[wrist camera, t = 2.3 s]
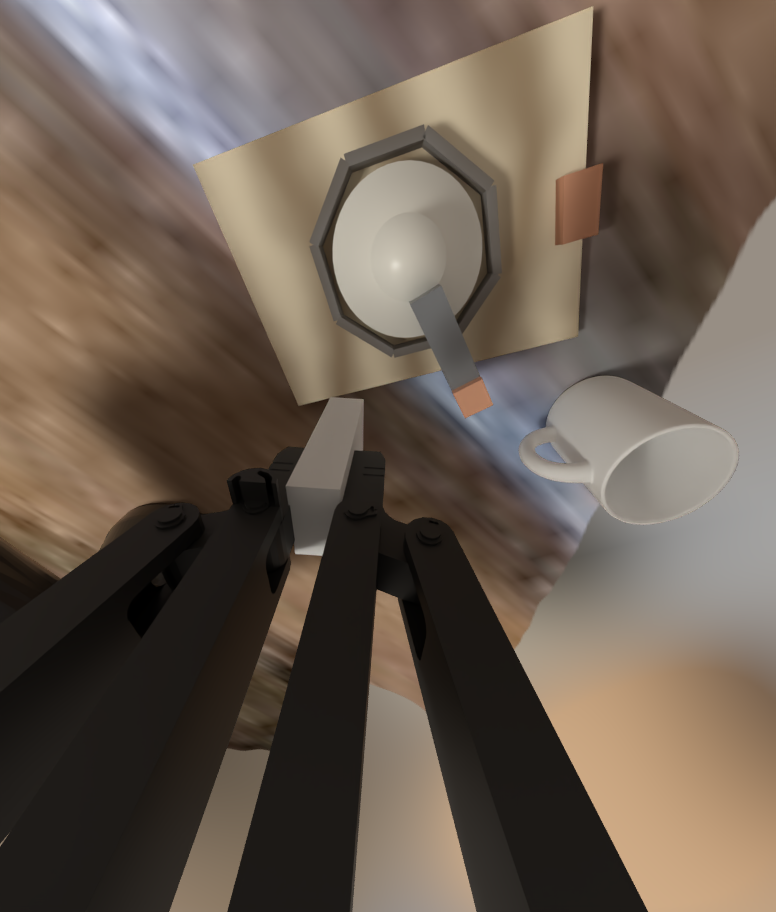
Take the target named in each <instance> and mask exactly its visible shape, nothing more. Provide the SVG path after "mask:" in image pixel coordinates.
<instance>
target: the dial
mask: <svg viewBox="0 0 776 912" xmlns="http://www.w3.org/2000/svg"><path fill="white" fill-rule="evenodd" d="M481 260H482V234H481V227H480V222H479V219H478V215H477V212H476V210H475V207H474V205H473V202H472V201H471V199H470V197H469V195H468V194H467V192H466V191H465V190H464V188H463V187H462V186H461V184H460V183H459V182H458V181H457V180H456V179H455V178H454V177H453V176H451V175H450V174H449V173H447V172H446V171H444V170H443V169H441V168H439V167H437V166H435V165H433V164H430V163H426V162H422V161H414V160H406V161H397V162H394V163H390V164H387V165H385V166H382V167H380V168H378V169H376V170H375V171H373V172H372V173H370V174H369V175H367V176H366V177H365V178H364V179H363V180H362V181H361V182H360V183H359V184H358V185H357V186H356V187H355V188H354V190H353V191H352V192H351V194H350V195H349V197H348V198H347V200H346V201H345V203H344V205H343V208H342V210H341V212H340V214H339V217H338V220H337V223H336V227H335V232H334V238H333V265H334V272H335V276H336V280H337V283H338V286H339V289H340V291H341V293H342V295H343V297H344V299H345V301H346V303H347V304H348V306H349V307H350V309H351V310H352V311H353V312H354V314H355V315H356V316H357V317H358V318H359V319H360V320H361V321H362V322H364V323H365V324H366V325H368V326H369V327H371V328H372V329H374V330H376V331H378V332H380V333H383V334H385V335H389V336H393V337H402V338H408V337H417V336H422V335H425V337H426V339H427V341H428V343H429V345H430V347H431V349H432V351H433V353H434V355H435V357H436V359H437V361H438V363H439V365H440V367H441V370H442V372H443V374H444V376H445V378H446V380H447V382H448V384H449V386H450V388H451V390H452V392H453V395H454V397H455V399H456V401H457V403H458V405H459V407H460V409H461V411H462V413H463V415H464V417H465V418H467V417H469V416H471V415H473V414H475V413H477V412H479V411H482V410H484V409H486V408H488V407H490V406H492V405H493V403H492V401H491V398H490V396H489V394H488V391H487V389H486V387H485V384H484V382H483V380H482V378H481V377H480V375H479V372H478V370H477V368H476V365H475V363H474V361H473V358H472V356H471V354H470V351H469V349H468V347H467V344H466V342H465V340H464V337H463V335H462V333H461V330H460V328H459V326H458V323H457V321H456V319H455V315H456V314H457V313H458V312H459V311H460V310H461V308H462V307H463V305H464V304H465V303H466V301H467V300H468V298H469V296H470V294H471V293H472V290H473V288H474V286H475V283H476V281H477V277H478V274H479V270H480V265H481Z"/></svg>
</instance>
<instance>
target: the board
mask: <svg viewBox="0 0 776 912" xmlns="http://www.w3.org/2000/svg"><path fill="white" fill-rule="evenodd" d="M592 24H593V6H592V7H590V8H587V9H585V10H582V11H580V12H577V13H575V14H572V15H570V16H567V17H565V18H562V19H560V20H557V21H555V22H552V23H550V24H547V25H544V26H542V27H539V28H537V29H534V30H532V31H529V32H527V33H524V34H522V35H519V36H517V37H514V38H512V39H509V40H507V41H504V42H502V43H499V44H497V45H494V46H492V47H489V48H486V49H484V50H481V51H479V52H476V53H474V54H471V55H469V56H466V57H464V58H461V59H459V60H456V61H454V62H451V63H449V64H446V65H444V66H441V67H439V68H436V69H434V70H431V71H428V72H426V73H423V74H421V75H418V76H416V77H413V78H411V79H408V80H406V81H403V82H401V83H398V84H396V85H393V86H391V87H388V88H386V89H383V90H381V91H378V92H376V93H373V94H370V95H368V96H365V97H363V98H360V99H358V100H355V101H353V102H350V103H348V104H345V105H343V106H340V107H338V108H335V109H333V110H330V111H328V112H325V113H323V114H320V115H318V116H315V117H312V118H310V119H307V120H305V121H302V122H300V123H297V124H295V125H292V126H290V127H287V128H285V129H282V130H280V131H277V132H275V133H272V134H270V135H267V136H265V137H262V138H260V139H257V140H254V141H252V142H249V143H247V144H244V145H242V146H239V147H237V148H234V149H232V150H229V151H227V152H224V153H222V154H219V155H217V156H214V157H212V158H209V159H207V160H204V161H202V162H199V163H196V164H194V165H193V166H194V169H195V171H196V173H197V175H198V178H199V180H200V182H201V185H202V187H203V189H204V191H205V194H206V196H207V198H208V200H209V203H210V205H211V207H212V210H213V212H214V214H215V216H216V219H217V221H218V223H219V226H220V228H221V230H222V232H223V235H224V237H225V239H226V242H227V244H228V246H229V248H230V251H231V253H232V255H233V257H234V260H235V262H236V264H237V267H238V269H239V271H240V273H241V276H242V278H243V280H244V283H245V285H246V287H247V289H248V292H249V294H250V296H251V299H252V301H253V303H254V305H255V308H256V310H257V312H258V314H259V317H260V319H261V321H262V324H263V326H264V328H265V330H266V333H267V335H268V337H269V340H270V342H271V344H272V346H273V349H274V351H275V353H276V356H277V358H278V360H279V362H280V365H281V367H282V369H283V371H284V374H285V376H286V378H287V381H288V383H289V385H290V387H291V390H292V392H293V394H294V397H295V399H296V401H297V403H298V406H300V405H304V404H308V403H312V402H316V401H320V400H324V399H328V398H330V397H336V396H340V395H344V394H348V393H352V392H357V391H361V390H365V389H369V388H373V387H377V386H381V385H385V384H389V383H393V382H397V381H401V380H405V379H409V378H413V377H417V376H421V375H425V374H429V373H433V372H437V371H441V367H440V365H439V363H438V361H437V359H436V357H435V355H434V353H433V351H432V349H431V347H430V345H429V343H428V341H427V339H426V337H425V335H422V336H417V337H408V338H402V337H393V336H389V335H385V334H383V333H380V332H378V331H376V330H374V329H372V328H371V327H369V326H368V325H366V324H365V323H364V322H362V321H361V320H360V319H359V318H358V317H357V316H356V315H355V314H354V312H353V311H352V310H351V309H350V307H349V306H348V304H347V303H346V301H345V299H344V297H343V295H342V293H341V291H340V289H339V286H338V283H337V280H336V276H335V272H334V265H333V238H334V232H335V227H336V223H337V220H338V217H339V214H340V212H341V210H342V208H343V205H344V203H345V201H346V200H347V198H348V197H349V195H350V194H351V192H352V191H353V190H354V188H355V187H356V186H357V185H358V184H359V183H360V182H361V181H362V180H363V179H364V178H365V177H366V176H367V175H369V174H370V173H372V172H373V171H375V170H376V169H378V168H380V167H382V166H385V165H387V164H390V163H394V162H397V161H406V160H414V161H422V162H426V163H430V164H433V165H435V166H437V167H439V168H441V169H443V170H444V171H446V172H447V173H449V174H450V175H451V176H453V177H454V178H455V179H456V180H457V181H458V182H459V183H460V184H461V186H462V187H463V188H464V190H465V191H466V192H467V194H468V195H469V197H470V199H471V201H472V202H473V205H474V207H475V210H476V212H477V215H478V219H479V222H480V227H481V234H482V260H481V265H480V270H479V274H478V277H477V281H476V283H475V286H474V288H473V290H472V293H471V294H470V296H469V298H468V300H467V301H466V303H465V304H464V305H463V307H462V308H461V310H460V311H459V312H458V313H457V314H456V315H455V319H456V321H457V323H458V326H459V328H460V330H461V333H462V335H463V337H464V340H465V342H466V344H467V347H468V349H469V351H470V354H471V356H472V358H473V361H474V362H477V361H481V360H485V359H489V358H493V357H497V356H501V355H505V354H509V353H513V352H517V351H521V350H525V349H529V348H534V347H538V346H542V345H546V344H550V343H554V342H558V341H562V340H566V339H570V338H574V337H578V323H579V302H580V280H581V259H582V239H584V238H587V237H591V236H594V235H598V230H599V215H600V201H601V186H602V171H603V163H602V164H598V165H595V166H592V167H589V168H586V152H587V131H588V109H589V88H590V66H591V45H592Z"/></svg>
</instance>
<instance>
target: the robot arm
mask: <svg viewBox="0 0 776 912" xmlns="http://www.w3.org/2000/svg"><path fill="white" fill-rule="evenodd" d="M363 417H364V399H352V398H337V397H330V399H329V401H328V403H327V405H326V407H325V409H324V411H323V413H322V415H321V417H320V419H319V421H318V423H317V425H316V427H315V429H314V431H313V433H312V435H311V437H310V439H309V441H308V443H307V445H306V447H305V448H298V447H287V448H286V449H284V450H283V451H281V452H280V453H278V454H277V456H276V458H275V459H274V461H273V464H271V466H270V467H269V470H268V469H263V468H251V469H247V470H243V471H240V472H238V473H236V474H234V475H232V476H231V477H230V478H229V479H228V480H227V484H228V487H229V491H230V495H231V499H232V502H233V505H232V506H231V508H230V509H229V510H227V511H222V512H216V513H210V514H203V515H202V514H200V512H199V510H198V508H197V506H195V505H193V504H190V503H176V504H170V505H164V504H152V505H145V506H141V507H138V508H135V509H133V510H131V511H130V512H128V513H127V514H126V515H125V516H124V517H123V518H121V519H120V520H119V521H118V522H117V523H116V524H115V525H114V526H113V527H112V528H111V530H110V531H109V532H108V534H107V536H106V538H105V541H104V543H103V544H102V546H101V548H100V550H99V552H97V553H96V554H94V555H93V556H92V557H90V558H89V559H88V560H86V561H85V562H84V563H82V564H81V565H79V566H78V567H77V568H75V569H74V570H73V571H71V572H70V573H69V574H67V575H66V576H64V577H63V578H62V579H61V578H59V577H58V576H56V575H55V574H53V573H52V572H50V571H49V570H47V569H46V568H45V567H43V566H42V565H40V564H39V563H37V562H36V561H34V560H33V559H31V558H30V557H29V556H27V555H26V554H24V553H23V552H21V551H20V550H18V549H17V548H15V547H14V546H13V545H11V544H10V543H8V542H7V541H5V540H4V539H2V538H1V537H0V843H1V842H2V841H3V840H4V838H5V837H6V836H7V835H8V834H9V835H8V836H7V838H6V839H5V841H4V842H3V844H2V845H1V846H0V912H169V910H170V907H171V905H172V902H173V899H174V896H175V893H176V891H177V888H178V884H179V882H180V879H181V876H182V874H183V870H184V868H185V865H186V862H187V859H188V857H189V854H190V851H191V848H192V845H193V842H194V840H195V837H196V834H197V831H198V828H199V825H200V823H201V820H202V817H203V814H204V811H205V808H206V806H207V803H208V800H209V797H210V794H211V791H212V789H213V786H214V783H215V780H216V777H217V774H218V772H219V769H220V765H221V763H222V760H223V757H224V755H225V751H226V749H227V746H228V743H229V740H230V738H231V735H232V732H233V729H234V726H235V723H236V721H237V718H238V715H239V712H240V709H241V706H242V704H243V701H244V698H245V695H246V692H247V689H248V687H249V684H250V681H251V678H252V675H253V672H254V670H255V667H256V664H257V661H258V658H259V655H260V653H261V650H262V647H263V644H264V641H265V638H266V636H267V633H268V630H269V627H270V624H271V621H272V619H273V616H274V613H275V610H276V607H277V604H278V601H279V599H280V596H281V593H282V590H283V587H284V584H285V582H286V579H287V576H288V573H289V570H290V565H291V561H290V552H291V549H292V546H293V544H294V547H295V554H304V555H319V556H322V559H321V563H320V566H319V570H318V574H317V578H316V581H315V585H314V589H313V593H312V596H311V600H310V604H309V608H308V611H307V615H306V619H305V623H304V626H303V630H302V634H301V638H300V641H299V645H298V649H297V653H296V656H295V660H294V664H293V668H292V671H291V675H290V679H289V683H288V686H287V690H286V694H285V698H284V701H283V705H282V709H281V713H280V716H279V720H278V724H277V728H276V731H275V735H274V739H273V743H272V746H271V750H270V754H269V758H268V761H267V765H266V769H265V773H264V776H263V780H262V784H261V787H260V791H259V795H258V799H257V802H256V806H255V810H254V814H253V818H252V821H251V825H250V829H249V833H248V837H247V840H246V844H245V848H244V851H243V855H242V859H241V862H240V866H239V870H238V874H237V878H236V881H235V885H234V889H233V893H232V896H231V900H230V904H229V907H228V912H352V908H353V895H354V881H355V868H356V855H357V842H358V828H359V814H360V801H361V788H362V775H363V762H364V748H365V736H366V722H367V709H368V695H369V683H370V669H371V656H372V643H373V630H374V616H375V603H376V590H377V589H378V590H380V591H383V592H385V593H388V594H390V595H393V596H395V597H398V602H399V606H400V610H401V614H402V618H403V621H404V625H405V629H406V633H407V637H408V641H409V645H410V649H411V653H412V657H413V661H414V665H415V669H416V673H417V677H418V681H419V685H420V689H421V693H422V697H423V701H424V705H425V709H426V713H427V716H428V720H429V725H430V728H431V732H432V736H433V740H434V744H435V748H436V752H437V756H438V760H439V764H440V768H441V772H442V776H443V780H444V784H445V787H446V792H447V796H448V800H449V803H450V808H451V812H452V816H453V819H454V823H455V828H456V831H457V835H458V839H459V843H460V847H461V851H462V855H463V859H464V863H465V867H466V871H467V875H468V879H469V883H470V887H471V891H472V894H473V899H474V903H475V907H476V911H477V912H648V911H647V909H646V907H645V905H644V903H643V901H642V899H641V897H640V895H639V893H638V891H637V889H636V887H635V885H634V883H633V881H632V879H631V877H630V876H629V874H628V872H627V870H626V868H625V866H624V864H623V862H622V860H621V858H620V856H619V854H618V852H617V850H616V848H615V846H614V844H613V842H612V840H611V838H610V837H609V835H608V833H607V831H606V829H605V827H604V825H603V823H602V821H601V819H600V817H599V815H598V813H597V811H596V809H595V807H594V805H593V803H592V801H591V799H590V797H589V796H588V794H587V792H586V790H585V788H584V786H583V784H582V782H581V780H580V778H579V776H578V774H577V772H576V770H575V768H574V766H573V764H572V762H571V761H570V759H569V756H568V755H567V753H566V751H565V749H564V747H563V745H562V743H561V741H560V739H559V737H558V735H557V733H556V731H555V729H554V727H553V726H552V723H551V721H550V719H549V718H548V716H547V714H546V712H545V710H544V708H543V706H542V704H541V702H540V700H539V698H538V696H537V694H536V692H535V690H534V688H533V686H532V684H531V683H530V680H529V678H528V676H527V675H526V673H525V671H524V669H523V667H522V665H521V663H520V661H519V659H518V657H517V655H516V653H515V651H514V649H513V647H512V645H511V643H510V641H509V639H508V637H507V635H506V634H505V632H504V630H503V628H502V626H501V624H500V622H499V620H498V618H497V616H496V614H495V612H494V610H493V608H492V606H491V604H490V602H489V600H488V598H487V596H486V594H485V593H484V591H483V589H482V587H481V585H480V583H479V581H478V579H477V577H476V575H475V573H474V571H473V569H472V567H471V565H470V563H469V561H468V559H467V557H466V555H465V554H464V552H463V550H462V548H461V546H460V544H459V542H458V540H457V538H456V536H455V534H454V532H453V531H452V530H451V528H450V527H449V526H448V525H447V524H445V523H444V522H442V521H440V520H437V519H434V518H424V517H422V518H419V519H415V520H413V521H412V522H410V523H409V524H408V525H407V524H404V523H401V522H398V521H396V520H394V519H392V518H391V517H390V516H388V515H387V513H386V512H385V511H384V509H383V492H384V476H385V458H384V457H383V455H382V453H381V452H373V451H363ZM10 831H11V832H10Z"/></svg>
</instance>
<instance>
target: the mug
mask: <svg viewBox="0 0 776 912" xmlns="http://www.w3.org/2000/svg"><path fill="white" fill-rule="evenodd" d="M549 442H550V443H551V445H552V446H553V448H554V449H555V450H556V452H557V453H558V454H559V455H560V456H561V458H562V459H563V460H564V461H565V462H566V463H556V462H552V461H548V460H546V459H544V458H542V457H540V456H539V455H538V454H537V453H536V451H535V448H536V447H537V446H539V445H541V444H544V443H549ZM518 451H519V456H520V458H521V461H522V462H523V463H524V465H525V466H526V467H527V468H528V469H530V470H531V471H532V472H534V473H535V474H537V475H539V476H541V477H544V478H546V479H549V480H553V481H558V482H565V483H583V484H584V485H585V486H586V487H587V488H588V490H589V491H590V492H591V493H592V494H593V496H594V497H595V498H596V499H597V500H598V502H599V503H600V504H601V505H602V506H603V508H604V509H605V510H606V511H607V512H608V513H609V514H610V515H611V516H612V517H614V518H616V519H618V520H620V521H623V522H626V523H630V524H638V525H647V524H657V523H662V522H666V521H670V520H673V519H677V518H679V517H682V516H684V515H686V514H688V513H691V512H693V511H694V510H696V509H698V508H700V507H701V506H703V505H704V504H706V503H707V502H709V501H710V500H711V499H712V498H714V497H715V496H716V495H717V494H718V493H719V492H720V491H721V490H722V489H723V488H724V486H726V484H727V483H728V482H729V480H730V479H731V478H732V476H733V474H734V472H735V470H736V467H737V465H738V460H739V449H738V445H737V443H736V441H735V439H734V438H733V437H732V436H731V434H729V433H728V432H727V431H726V430H724V429H722V428H720V427H718V426H716V425H714V424H712V423H710V422H708V421H706V420H704V419H702V418H701V417H699V416H697V415H695V414H693V413H691V412H689V411H687V410H685V409H683V408H681V407H679V406H677V405H675V404H673V403H671V402H670V401H667V400H666V399H664V398H662V397H660V396H658V395H656V394H654V393H652V392H650V391H648V390H646V389H644V388H642V387H640V386H638V385H636V384H634V383H632V382H630V381H628V380H626V379H623V378H620V377H615V376H596V377H592V378H588V379H585V380H583V381H581V382H578V383H576V384H575V385H573V386H571V387H570V388H569V389H567V390H566V391H565V392H564V393H563V394H561V395H560V397H559V398H558V399H557V400H556V401H555V403H554V404H553V406H552V407H551V409H550V411H549V414H548V417H547V421H546V427H545V428H541V429H538V430H535V431H533V432H531V433H529V434H528V435H526V436H525V437H524V438H523V440H522V441H521V443H520V445H519V450H518Z"/></svg>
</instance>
